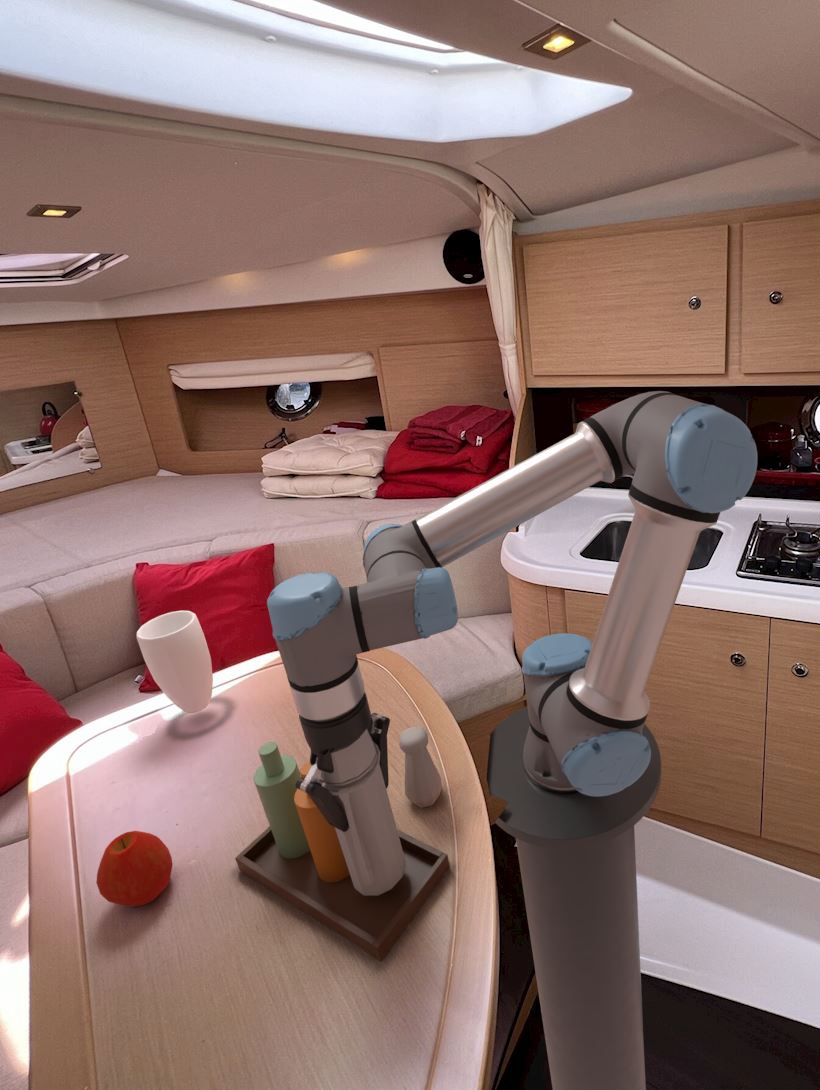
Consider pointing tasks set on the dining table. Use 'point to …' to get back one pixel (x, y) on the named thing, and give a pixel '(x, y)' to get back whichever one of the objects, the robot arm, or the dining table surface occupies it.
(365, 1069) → the dining table surface
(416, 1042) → the dining table surface
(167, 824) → the dining table surface
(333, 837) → the amber bottle
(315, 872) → the tray
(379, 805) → the water bottle
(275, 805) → the sage bottle
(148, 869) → the apple
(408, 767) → the salt shaker
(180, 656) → the cup
